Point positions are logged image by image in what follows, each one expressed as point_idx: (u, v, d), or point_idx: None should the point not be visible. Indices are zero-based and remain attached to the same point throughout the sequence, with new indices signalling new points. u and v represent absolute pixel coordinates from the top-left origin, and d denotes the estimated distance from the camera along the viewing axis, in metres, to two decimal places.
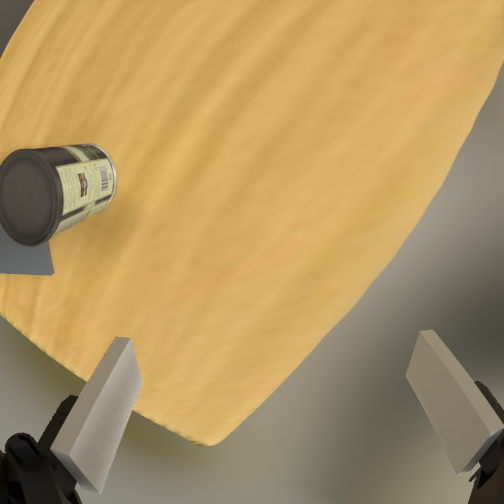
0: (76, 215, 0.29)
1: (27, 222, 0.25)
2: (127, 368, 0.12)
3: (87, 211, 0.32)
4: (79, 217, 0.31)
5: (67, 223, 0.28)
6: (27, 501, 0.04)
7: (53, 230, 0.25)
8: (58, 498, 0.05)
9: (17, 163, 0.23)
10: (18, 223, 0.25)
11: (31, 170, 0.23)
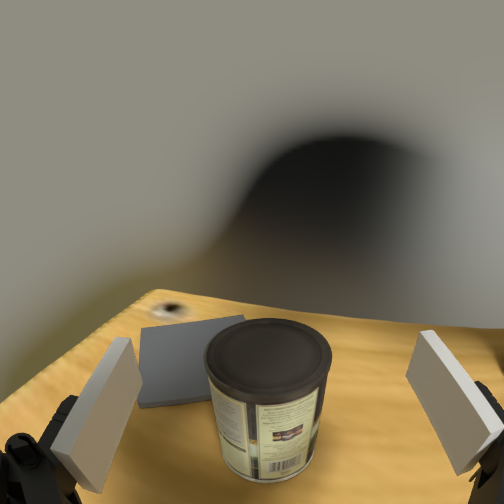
0: (244, 430, 0.21)
1: (237, 358, 0.23)
2: (127, 368, 0.12)
3: (244, 447, 0.22)
4: (238, 436, 0.22)
5: (236, 417, 0.21)
6: (27, 501, 0.04)
7: (235, 392, 0.20)
8: (58, 498, 0.05)
9: (308, 340, 0.25)
10: (233, 348, 0.25)
11: (307, 357, 0.23)
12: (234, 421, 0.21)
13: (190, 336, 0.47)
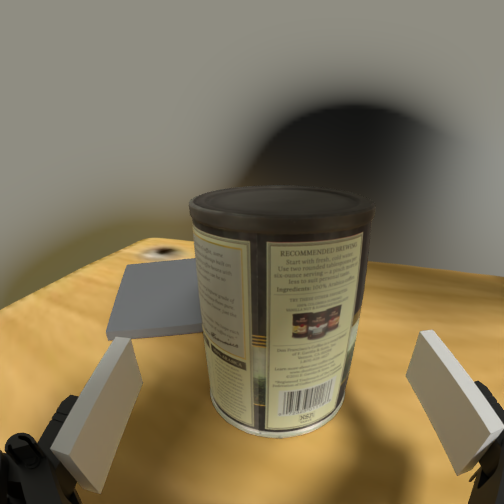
0: (246, 312, 0.14)
1: (239, 201, 0.16)
2: (127, 368, 0.12)
3: (243, 356, 0.15)
4: (234, 331, 0.15)
5: (232, 283, 0.14)
6: (27, 501, 0.04)
7: (233, 217, 0.13)
8: (58, 498, 0.05)
9: (337, 195, 0.18)
10: (232, 197, 0.18)
11: (340, 202, 0.16)
12: (229, 295, 0.14)
13: (182, 270, 0.41)
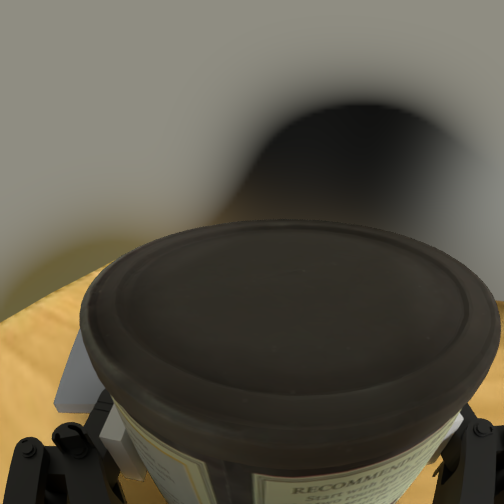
0: None
1: (194, 284, 0.07)
2: None
3: None
4: None
5: (179, 490, 0.05)
6: (69, 491, 0.05)
7: (146, 407, 0.03)
8: (104, 490, 0.05)
9: (399, 252, 0.09)
10: (188, 262, 0.08)
11: (420, 281, 0.07)
12: (178, 498, 0.05)
13: None
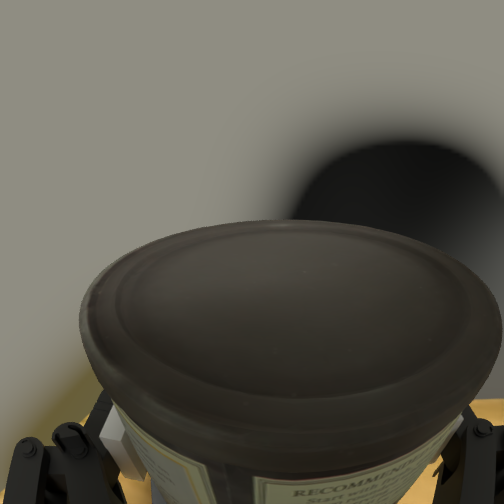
0: None
1: (194, 285, 0.07)
2: None
3: None
4: None
5: (179, 492, 0.05)
6: (69, 491, 0.05)
7: (146, 410, 0.03)
8: (104, 490, 0.05)
9: (400, 252, 0.09)
10: (188, 263, 0.08)
11: (421, 282, 0.07)
12: (178, 500, 0.05)
13: None
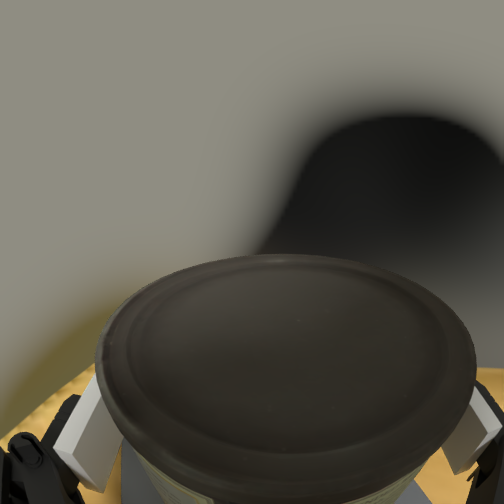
0: None
1: (197, 336, 0.07)
2: None
3: None
4: None
5: None
6: (29, 500, 0.04)
7: (165, 463, 0.04)
8: (61, 497, 0.05)
9: (390, 293, 0.09)
10: (190, 309, 0.09)
11: (407, 331, 0.07)
12: None
13: None
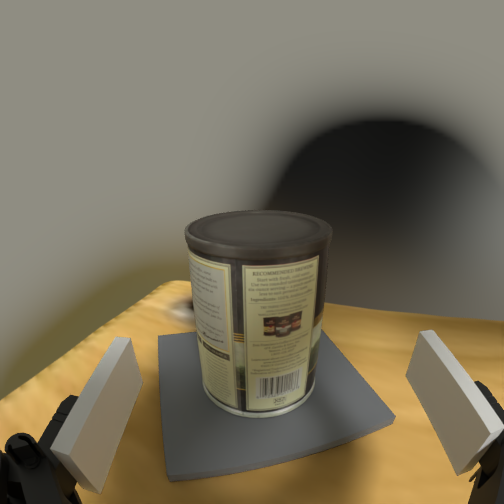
0: (228, 316, 0.19)
1: (223, 229, 0.21)
2: (127, 368, 0.12)
3: (227, 350, 0.20)
4: (220, 330, 0.20)
5: (218, 294, 0.19)
6: (27, 501, 0.04)
7: (218, 247, 0.17)
8: (58, 498, 0.05)
9: (304, 221, 0.23)
10: (219, 224, 0.22)
11: (304, 229, 0.21)
12: (216, 303, 0.19)
13: None
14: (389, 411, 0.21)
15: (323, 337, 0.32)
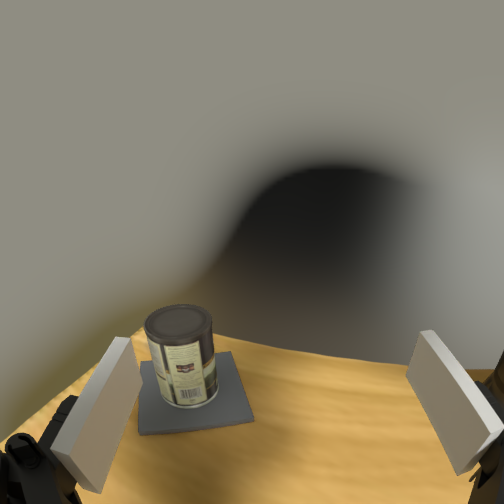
0: (162, 363, 0.41)
1: (161, 323, 0.43)
2: (127, 368, 0.12)
3: (164, 376, 0.42)
4: (160, 368, 0.42)
5: (157, 354, 0.41)
6: (27, 501, 0.04)
7: (154, 337, 0.40)
8: (58, 498, 0.05)
9: (202, 317, 0.45)
10: (160, 318, 0.44)
11: (196, 325, 0.43)
12: (157, 357, 0.41)
13: None
14: (251, 414, 0.43)
15: (233, 367, 0.54)
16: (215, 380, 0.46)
